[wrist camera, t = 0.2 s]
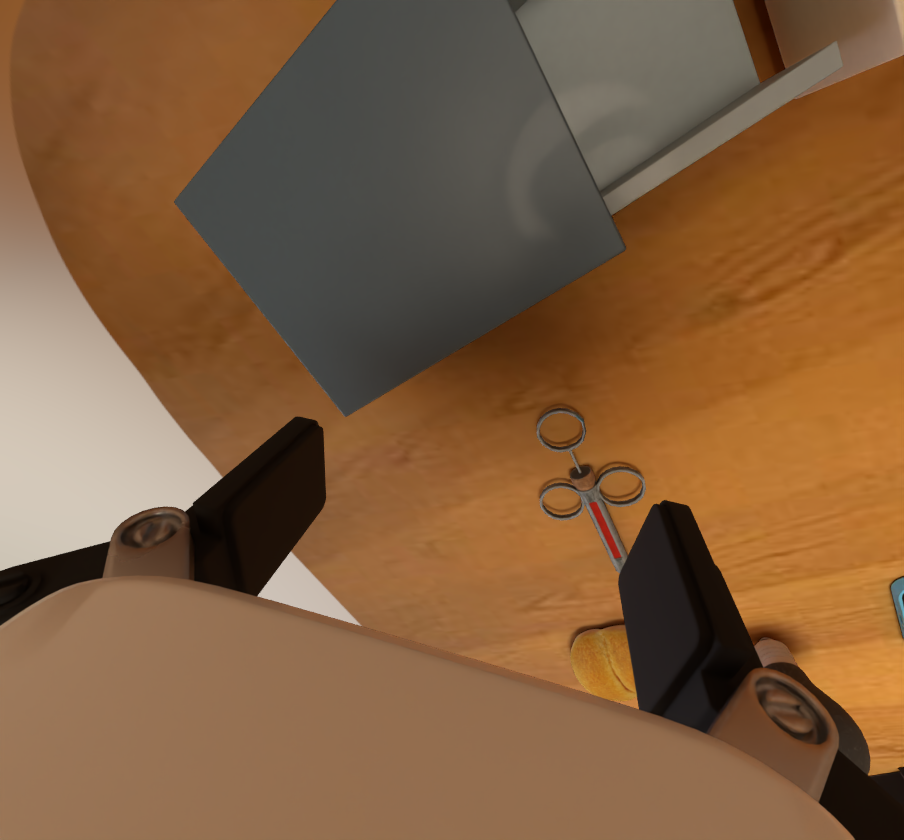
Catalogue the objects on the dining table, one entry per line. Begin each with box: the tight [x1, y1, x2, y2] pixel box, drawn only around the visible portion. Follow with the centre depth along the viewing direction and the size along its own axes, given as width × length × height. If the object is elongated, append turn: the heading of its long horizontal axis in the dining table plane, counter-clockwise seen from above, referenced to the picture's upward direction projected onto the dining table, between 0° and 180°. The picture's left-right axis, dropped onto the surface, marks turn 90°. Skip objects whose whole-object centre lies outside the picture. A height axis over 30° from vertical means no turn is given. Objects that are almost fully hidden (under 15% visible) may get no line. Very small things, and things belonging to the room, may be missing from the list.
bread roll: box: [570, 625, 637, 701], centre depth 37 cm, size 8×9×4 cm
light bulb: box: [754, 637, 870, 775], centre depth 30 cm, size 6×6×10 cm
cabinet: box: [174, 0, 626, 417], centre depth 21 cm, size 16×13×9 cm
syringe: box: [537, 408, 646, 573], centre depth 31 cm, size 8×18×2 cm, turn 28°
